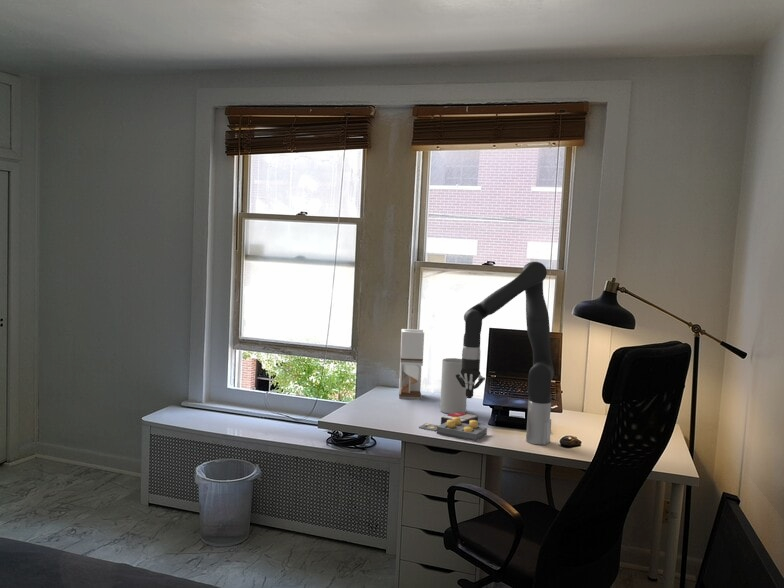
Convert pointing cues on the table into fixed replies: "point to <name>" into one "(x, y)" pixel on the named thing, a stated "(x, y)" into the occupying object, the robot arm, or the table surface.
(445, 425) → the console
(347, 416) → the table surface
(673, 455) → the table surface
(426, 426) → the card
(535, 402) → the robot arm
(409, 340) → the white square dispenser
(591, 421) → the table surface
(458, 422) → the button
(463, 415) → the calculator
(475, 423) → the button
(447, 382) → the cylinder vase
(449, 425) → the button
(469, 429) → the button
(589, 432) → the table surface
